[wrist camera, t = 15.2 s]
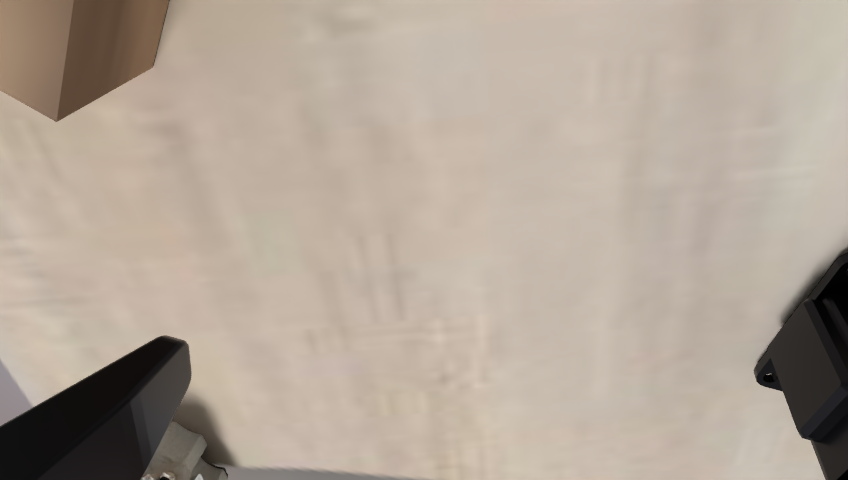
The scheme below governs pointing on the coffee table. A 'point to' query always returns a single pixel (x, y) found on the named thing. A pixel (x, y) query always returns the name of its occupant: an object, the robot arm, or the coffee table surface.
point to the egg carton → (182, 458)
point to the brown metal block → (75, 49)
